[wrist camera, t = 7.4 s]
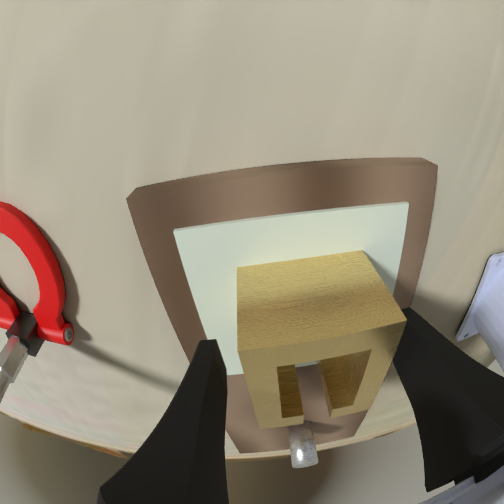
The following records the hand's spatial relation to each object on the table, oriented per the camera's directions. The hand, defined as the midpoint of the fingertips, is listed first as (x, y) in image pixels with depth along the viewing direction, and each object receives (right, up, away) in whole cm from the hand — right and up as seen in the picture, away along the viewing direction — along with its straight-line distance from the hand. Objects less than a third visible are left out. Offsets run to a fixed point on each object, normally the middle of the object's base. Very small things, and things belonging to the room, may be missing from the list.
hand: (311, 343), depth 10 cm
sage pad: (0, +1, +2) cm, 2 cm away
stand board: (+1, -5, +7) cm, 8 cm away
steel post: (+2, -11, +9) cm, 14 cm away
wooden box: (0, +1, +2) cm, 2 cm away
